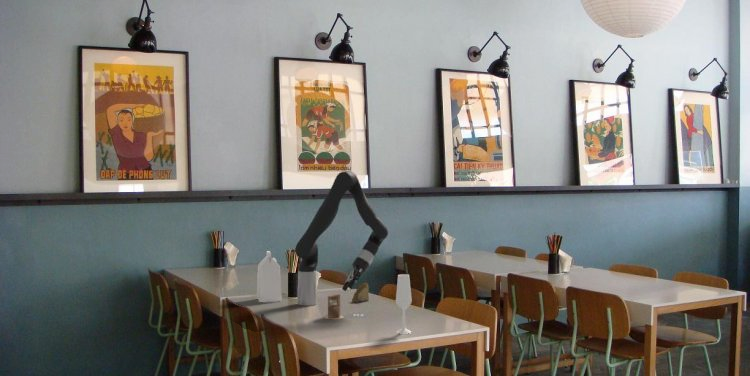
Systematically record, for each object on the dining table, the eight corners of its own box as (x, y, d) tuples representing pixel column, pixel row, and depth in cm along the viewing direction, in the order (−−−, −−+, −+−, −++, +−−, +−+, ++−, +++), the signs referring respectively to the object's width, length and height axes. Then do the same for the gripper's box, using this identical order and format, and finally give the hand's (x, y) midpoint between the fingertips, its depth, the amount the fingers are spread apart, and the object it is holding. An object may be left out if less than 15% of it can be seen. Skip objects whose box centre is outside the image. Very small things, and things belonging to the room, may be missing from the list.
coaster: (322, 319, 333) (322, 318, 333) (325, 316, 342) (325, 315, 342) (342, 320, 332) (342, 319, 332) (344, 316, 341) (344, 315, 341)
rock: (353, 299, 376) (371, 295, 378) (349, 284, 381) (367, 281, 383) (351, 308, 385) (369, 305, 387) (347, 294, 390) (365, 291, 392)
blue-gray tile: (344, 318, 336) (344, 317, 336) (347, 313, 348) (347, 312, 348) (370, 318, 335) (370, 317, 335) (372, 313, 347) (372, 312, 347)
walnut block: (327, 318, 334) (327, 296, 334) (329, 316, 339) (329, 294, 339) (338, 318, 334) (338, 296, 334) (340, 316, 339) (340, 294, 339)
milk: (256, 299, 392) (256, 250, 392) (277, 297, 396) (277, 250, 395) (259, 302, 381) (259, 253, 381) (281, 301, 384) (281, 252, 384)
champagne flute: (411, 330, 308) (410, 273, 308) (412, 333, 301) (412, 276, 301) (395, 330, 308) (395, 274, 308) (396, 334, 301) (396, 276, 301)
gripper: (352, 259, 358) (335, 286, 352) (361, 254, 345) (344, 282, 339) (364, 267, 359) (348, 295, 353) (374, 262, 346) (357, 291, 340)
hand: (346, 288), depth 346 cm, fingers open, 8 cm apart
